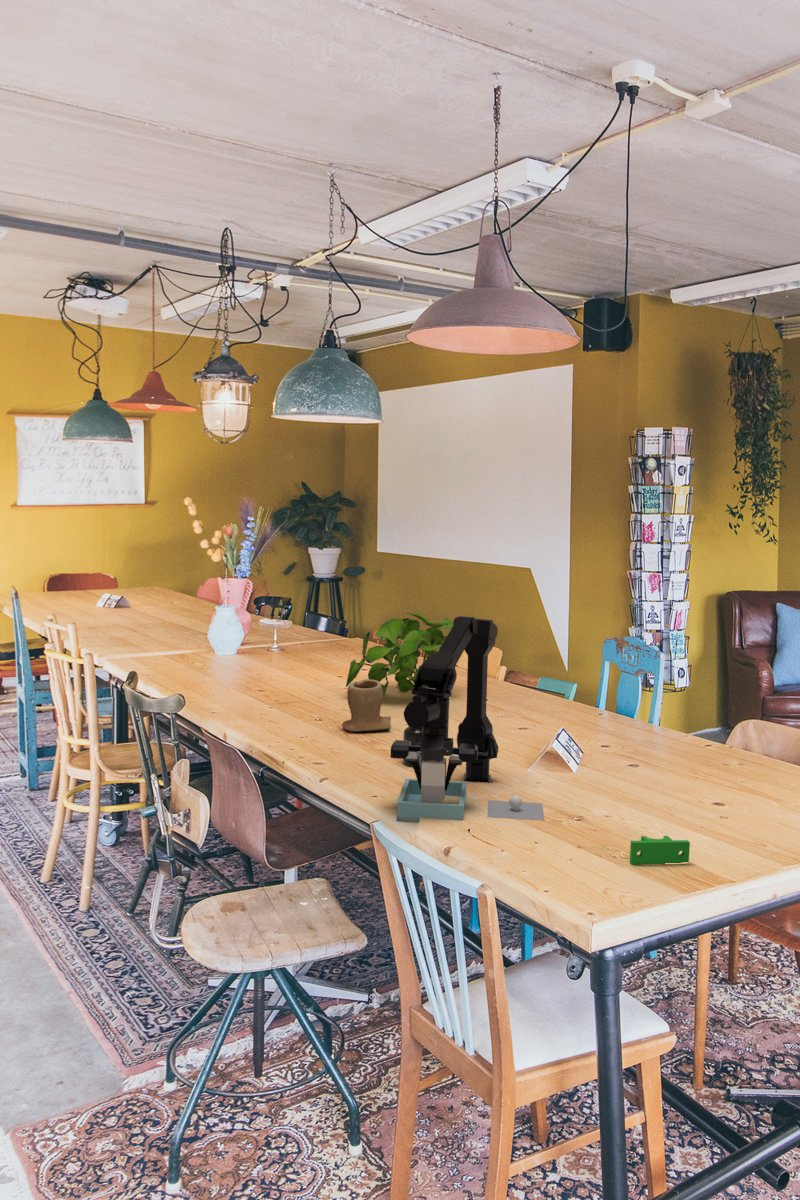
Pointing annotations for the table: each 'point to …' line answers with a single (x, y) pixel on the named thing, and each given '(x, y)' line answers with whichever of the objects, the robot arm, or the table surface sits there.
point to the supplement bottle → (412, 739)
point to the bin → (415, 809)
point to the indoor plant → (400, 650)
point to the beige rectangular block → (433, 781)
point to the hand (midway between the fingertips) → (433, 789)
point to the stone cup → (366, 707)
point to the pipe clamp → (659, 851)
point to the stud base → (515, 809)
